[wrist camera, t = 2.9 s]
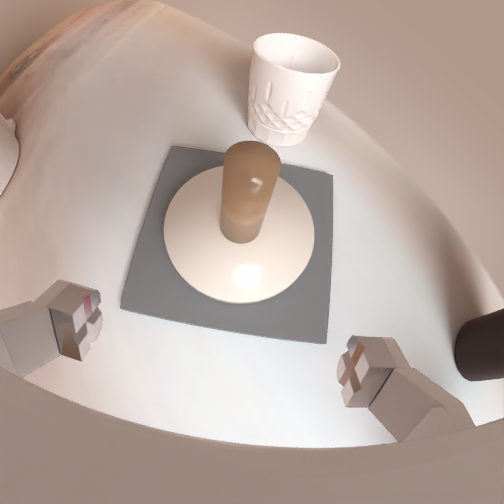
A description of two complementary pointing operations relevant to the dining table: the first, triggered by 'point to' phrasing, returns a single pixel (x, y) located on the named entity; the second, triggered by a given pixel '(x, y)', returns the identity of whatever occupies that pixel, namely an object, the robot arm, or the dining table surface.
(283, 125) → the white cup
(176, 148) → the slate mat
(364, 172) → the dining table surface
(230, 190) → the lid
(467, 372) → the bottle
